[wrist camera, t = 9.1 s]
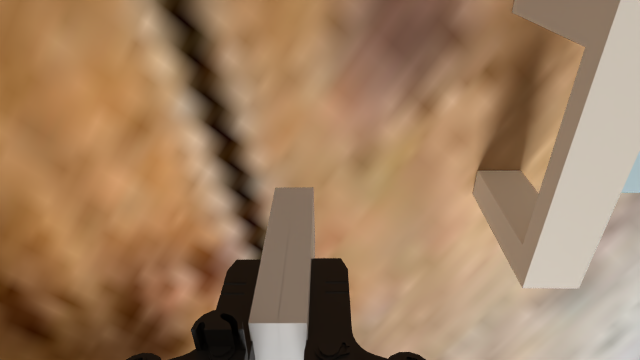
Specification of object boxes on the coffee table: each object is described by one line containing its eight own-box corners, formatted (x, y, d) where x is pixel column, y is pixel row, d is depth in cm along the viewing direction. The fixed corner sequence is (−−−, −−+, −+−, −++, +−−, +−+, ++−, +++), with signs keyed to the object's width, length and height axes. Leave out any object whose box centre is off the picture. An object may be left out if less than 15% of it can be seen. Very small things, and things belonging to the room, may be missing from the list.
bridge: (472, 194, 30) (522, 288, 22) (520, -27, 22) (621, -2, 15) (514, 194, 30) (578, 288, 22) (575, -28, 22) (707, -4, 15)
